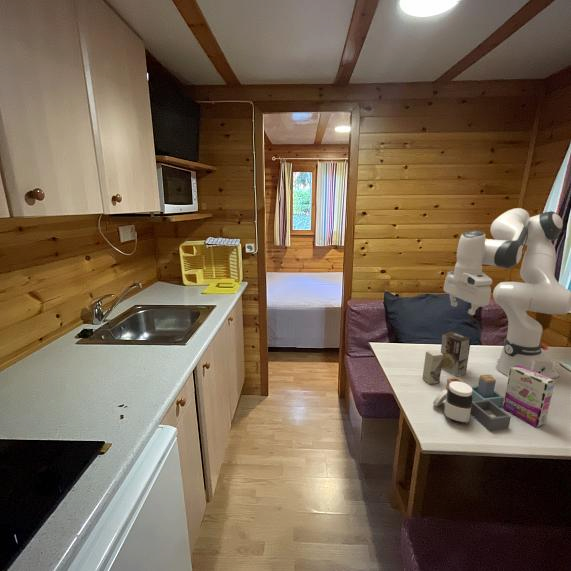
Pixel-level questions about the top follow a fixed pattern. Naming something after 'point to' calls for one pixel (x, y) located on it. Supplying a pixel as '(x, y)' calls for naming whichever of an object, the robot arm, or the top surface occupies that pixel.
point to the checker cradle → (490, 415)
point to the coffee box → (455, 353)
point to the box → (432, 366)
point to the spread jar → (456, 401)
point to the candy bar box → (528, 395)
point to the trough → (496, 398)
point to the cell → (486, 386)
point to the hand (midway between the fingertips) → (462, 310)
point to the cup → (452, 381)
